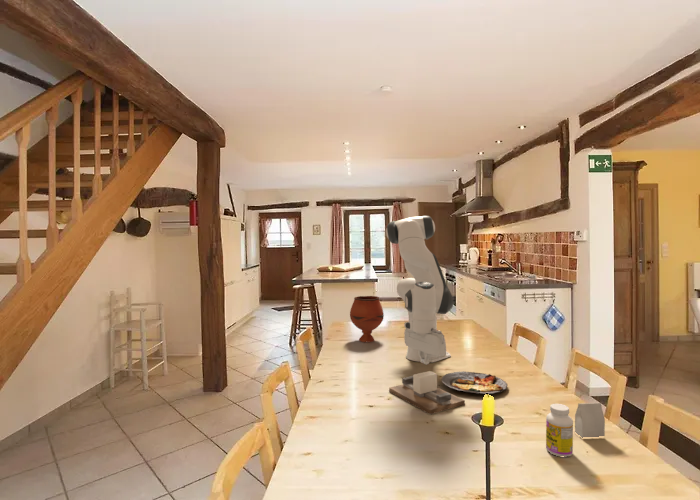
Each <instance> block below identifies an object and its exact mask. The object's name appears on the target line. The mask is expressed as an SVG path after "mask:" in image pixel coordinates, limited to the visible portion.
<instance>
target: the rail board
mask: <svg viewBox="0 0 700 500" xmlns="http://www.w3.org/2000/svg"><path fill="white" fill-rule="evenodd" d="M401 381H402V384H399V385H394V386H390V387H389V389H388V391H389V393H391V394H392V395H395V396H397V397H399V398H400V399H402V400H404V401H405V402H408V403H409V404H411V405H413V406H414V407H416V408H418V409H419V410H422V412H424V413H426V414H428V415H432V414H433V415H434V414H436V413H441V412H443V411H447V410H450V409H454V408H457V407H460V406H464V405H466V403H465V401H466V400H465V399H463V398H460V397H458V396H456V395H455V394H452V393H450V392H448V391H446V390H443V389H441V388H440V387H438V386H437V393H434V392H432V391H431V392H427V393H424V397H419V396H417V395H415V394H414V391H413V375H411V376H406V377H402V380H401Z"/></svg>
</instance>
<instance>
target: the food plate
mask: <svg viewBox="0 0 700 500" xmlns="http://www.w3.org/2000/svg"><path fill="white" fill-rule="evenodd" d="M441 382H442V384H444V385H445V386H446V387H449V388H450V389H452V390H457V391H459V392H460V391H463V392H465V393H472V394H473V393H475V394H477V395H478V394H484V395H485V394H486V393H488V394H486V395H494V394H499V393H502V392H504V391H506V390H507V389H508V383H507V382H506V381H505V380H504V379H502V378H501V377H498V376H496V375H492V374H490V373H489V374H486V373H483V372H482V373H481V372H475V371H453V372H450V373H446V374H444V375H443V376H442V378H441Z"/></svg>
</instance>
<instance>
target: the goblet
mask: <svg viewBox="0 0 700 500" xmlns="http://www.w3.org/2000/svg"><path fill="white" fill-rule="evenodd" d="M384 316H385V314H384V309H383V306H382V303H381V302H380V297H379V296H377V295H376V296H375V295H365V296H364V295H362V296H361V295H360V296H359V295H358V296H355V297H354V298H353V301H352V305H351V307H350V310H349V317H350V320H351V323H352V324H353V325H354V326H355V327H356V328H358V329H359V330H360V331H361V333H362V335H361V336H360V337H359V339H358V341H359V342H362V343H373V342H375V338H374V336H373V335H372V333H373V331H374V330H376V329H377V328H378V327H379V326H380V325H382V322H383V320H384Z"/></svg>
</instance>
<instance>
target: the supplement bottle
mask: <svg viewBox="0 0 700 500" xmlns="http://www.w3.org/2000/svg"><path fill="white" fill-rule="evenodd" d="M549 407H550V408H549V411H550V412H549V413H547V414H546V418H545V419H546V421H545V422H546V423H545V424H546V425H545V426H546V427H545V429H546V430H545V449H546V451H547V452H548V451H549V452H550V453H549V452H548V453H549V454H551V455H552V454H554V455H556V456H555V457H557V456H564V457H563V458H567V457H566V456H570V455H571V456H573V453H574V452H573V449H574V443H573V442H574V441H573V440H574V435H573V433H574V420H573V419H572V417H571V416H570V415H569V413H570V407H568V405H565V404H561V403H552V404H550V406H549ZM554 455H553V456H554ZM571 456H570V457H571Z"/></svg>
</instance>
